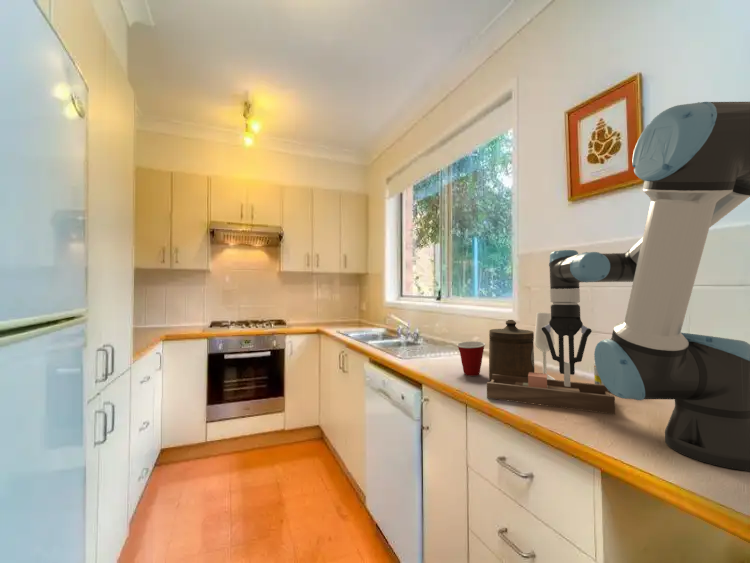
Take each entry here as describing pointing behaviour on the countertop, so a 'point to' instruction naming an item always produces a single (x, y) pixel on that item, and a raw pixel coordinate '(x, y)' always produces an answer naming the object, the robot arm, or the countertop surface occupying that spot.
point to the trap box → (552, 393)
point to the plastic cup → (471, 356)
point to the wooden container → (511, 351)
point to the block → (537, 380)
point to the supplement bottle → (597, 376)
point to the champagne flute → (543, 337)
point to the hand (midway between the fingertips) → (567, 385)
